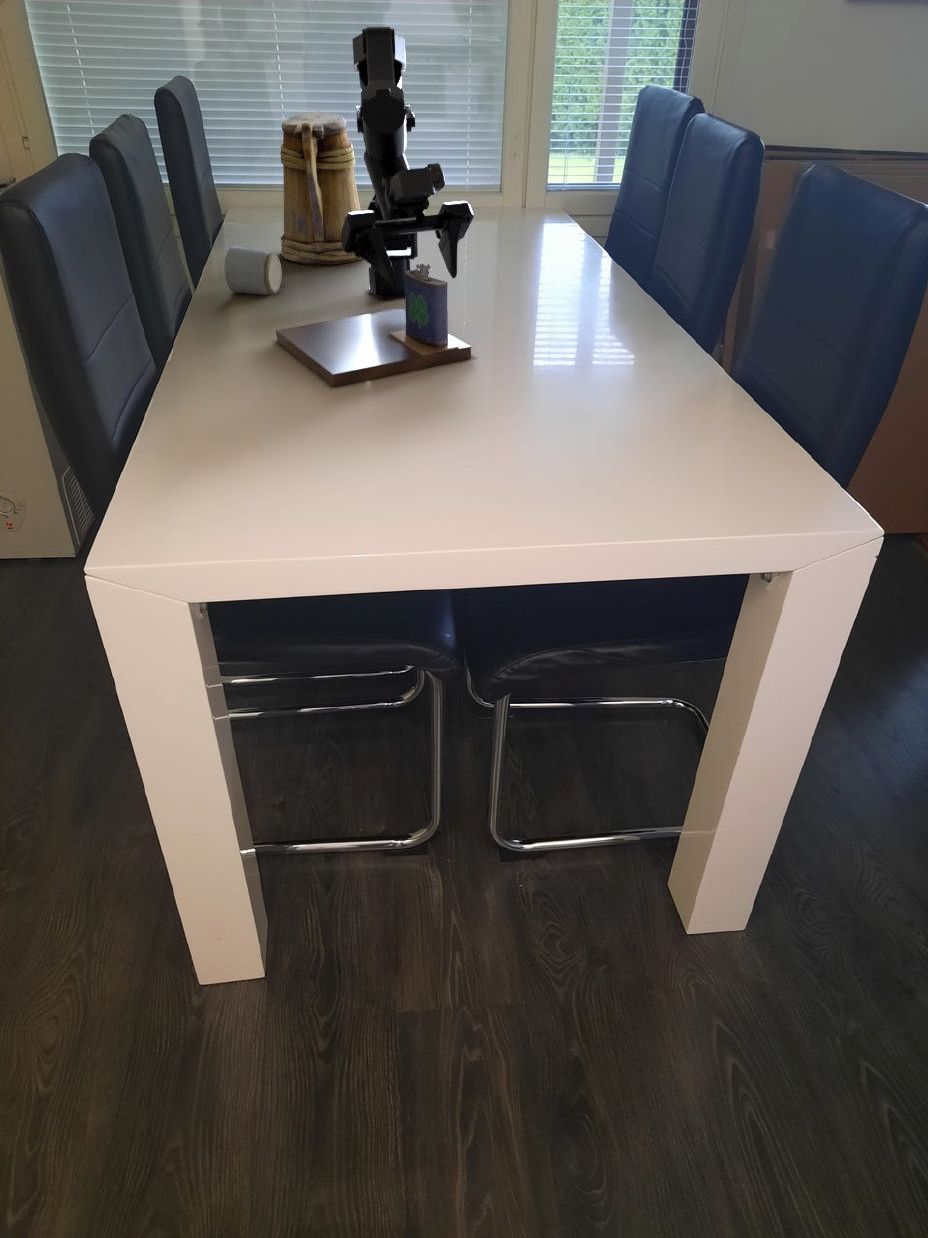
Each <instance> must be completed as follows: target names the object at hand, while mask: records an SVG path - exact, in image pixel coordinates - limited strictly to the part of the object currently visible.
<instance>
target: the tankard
mask: <svg viewBox="0 0 928 1238" xmlns="http://www.w3.org/2000/svg"><path fill="white" fill-rule="evenodd" d="M347 126H348V122H347V120H346V119H345V118H344V117H343V116H341V115H339V114H336V113H329V112H323V111H320V110H317V111H310V112H309V111H308V112H304V113H297V114H294V115H292V116H290V117H288V118H286V119H285V120H284V121H283V122H282V124H281V130H282V133H283V134H282V137H283V139H282V140H283V141H282V143H281V146H280V163H281V164H282V166H283V167H282V168H283V233H282V234H281V236H280V242H281V244H280V246H281V249H280V251H281V256H282V257H283V258H284V259H286V260H288V261H291V262H293V263H297V264H302V265H311V266H316V265H330V266H331V265H341V264H347V263H352V262H356V261H359V260H361V259H363V258H362V257H356V256H355V254H354V253H346V252H344V249H343V246H342V243H341V232H342V228H343V224H344V221H345V217H346V216H347V214H348V213H349V212H359V211H362V209H361V205H360V199H359V194H358V188H357V181H356V176H355V170H354V166H355V165H356V158H355V151H354V146H353V144H352V142H351V141H350V140H349V136H348V131H347Z"/></svg>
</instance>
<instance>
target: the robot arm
mask: <svg viewBox="0 0 928 1238" xmlns="http://www.w3.org/2000/svg"><path fill="white" fill-rule="evenodd" d="M351 40H352V54H353V55H352V58H353V68H354V72H355V73H356V72H357V73H358V77H359V78H358V79H359V86H360V105H356V128H357V129H356V130H357V134H358V135H362V137H363V143H364V148H365V151H364V153H363V161H364V164H365V167H366V170H367V173H368V176H369V179H370V182H371V185H372V188H373V191H374V195H373V197H372V198H371V201H369V204H368V207H367V210H361V211H359V212H349V213H348V214H347V216H346V217H345V221H344V224H343V228H342V232H341V243H342V246H343V249H344V252H346V253H354V254H355V256H356V257H362V259H363V260H364V261H366V263H368V264H369V265H370V266H369V267H368V279H369V281H368V282H369V288H368V292H369V293H371V294H372V295H374V296H376V297H378V298H379V299H382V300H390V299H396V298H403V297H405V279H404V273H405V272H406V271H410V270H411V260H415V259H416V258H418V256H419V255H418V233H424V232H425V233H426V232H434V234H435V236H436V238H437V239H438V240H439V241H438V244H437V246H438V249H439V251H440V254H441V257H442V259H443V261H444V264H445V266H446V270H447V271H448V273H449V274H450V276H451V279H456V277H457V275H458V245H459V242H460V240H462V239H464V238H465V235H466V234H467V231H468V230H469V228H470V226H471V223H472V221H473V219H474V217H475V214H474V211H473V208H472V206H471V204H470V203H469V202H468V201H465V200H460V201H450V202H449V201H448V202H443V203H442V204H441V206H440V209H439V211H438V213H437V214H430V215H429V214H428V215H425V210H428V208H429V206H430V201H429V198H430V197H431V196H434V195H436V192H440V191H441V190H442V189H444V188H445V186H446V179H445V174H444V170H443V169H442V166H441V164H440V162H436V163H427V165H426V166H425V167H421V168H410V166H409V164H408V161H407V159H406V155H405V152H406V148H407V134H411V133H412V131H413V128H416V117H415V114H414V113H413V112H412V109H411V107H410V104H408V105H406V100H405V92H404V89H402V79H403V78H402V76H403V75H402V74H403V73H402V72H406V68H407V61H406V39H405V38H404V37H402V36H401V35H399V34H397V33H396V32H395V28H392V27H391V26H366V27H365V28H362V29H361V33H360V34H358V35H357V36H355V37H353V38H352V39H351Z"/></svg>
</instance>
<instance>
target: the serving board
mask: <svg viewBox="0 0 928 1238" xmlns="http://www.w3.org/2000/svg"><path fill="white" fill-rule="evenodd" d="M275 335H276V341H277V342H276V343H279V344H280V345H281V346H282V347H283V348H285V349H286V350H287V351H288V352H289V353H291V354H292V355H293V356H295V357H296V359H298V360H299V361H300V362H302V363H303V364H305V365H306V366H307V367H308V368H309V369H310V370H312V371H314V373H316V374H317V375H318V376H320V378H322V379H324V380H325V381H326V382H327V383H329V384H330V386H332V387H333V388H336V387H341V386H345V385H351V384H355V383H360V382H364V381H371V380H375V379H378V378H383V377H388V376H393V375H398V374H403V373H408V372H413V371H417V370H421V369H426V368H431V367H436V366H441V365H446V364H450V363H456V362H459V361H464V360H469V359H472V346H471V345H469V344H468V343H465V342H464V341H462V340H460V339H458V338H456V337H455V336H453V335H451V334H450V333H448V340H449V343H448V346H445V345H444V344H442V345H443V346H445V347H444V348H437V347H431V346H430V345H427V344H424V343H421V342H419V341H416V340H413V339H412V338H410V337H408V336H407V335H406V316H405V308H404V307H401V308H394V309H389V310H383V311H377V312H372V313H366V314H360V315H355V316H349V317H344V318H337V319H331V320H327V321H320V322H315V323H314V322H313V323H309V324H303V325H298V326H293V327H287V328H280V329H276V330H275Z"/></svg>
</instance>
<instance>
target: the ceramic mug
mask: <svg viewBox="0 0 928 1238" xmlns="http://www.w3.org/2000/svg"><path fill="white" fill-rule="evenodd" d="M282 270H283V269H282V264H281V261H280V259H279V257H278V256H277V254H275V253H273V252H271V251H268V250H263V249H255V248H249V247H244V246H243V247H242V246H236V245H233V246H230V248H229V249H228V250H227V252H226V255H225V259H224V277H225V282H226V284H227V287H228V289H229V290H230V291H231V292H232V293H235V294H249V295H264V296H267V295H274V294H276V293H277V292H278V291H279V289H280V287H281V284H282V275H283V274H282V273H283V271H282Z"/></svg>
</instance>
